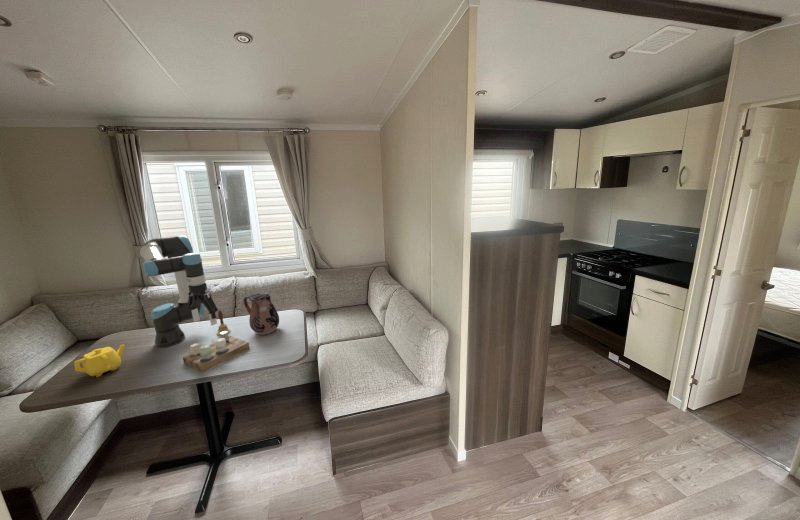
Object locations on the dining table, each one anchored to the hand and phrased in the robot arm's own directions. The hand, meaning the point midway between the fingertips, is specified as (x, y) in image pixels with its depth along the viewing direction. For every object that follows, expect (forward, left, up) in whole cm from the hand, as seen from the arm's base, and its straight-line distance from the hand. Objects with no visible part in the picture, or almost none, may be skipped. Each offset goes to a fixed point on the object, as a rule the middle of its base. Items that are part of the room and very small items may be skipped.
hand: (205, 322), depth 155 cm
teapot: (-48, -31, -24) cm, 62 cm away
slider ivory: (-11, -3, -19) cm, 22 cm away
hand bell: (-31, +23, -24) cm, 45 cm away
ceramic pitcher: (-7, +36, -24) cm, 44 cm away
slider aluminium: (-11, +13, -19) cm, 26 cm away
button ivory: (0, +5, -17) cm, 17 cm away
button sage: (0, -3, -17) cm, 17 cm away
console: (-5, +5, -23) cm, 25 cm away
